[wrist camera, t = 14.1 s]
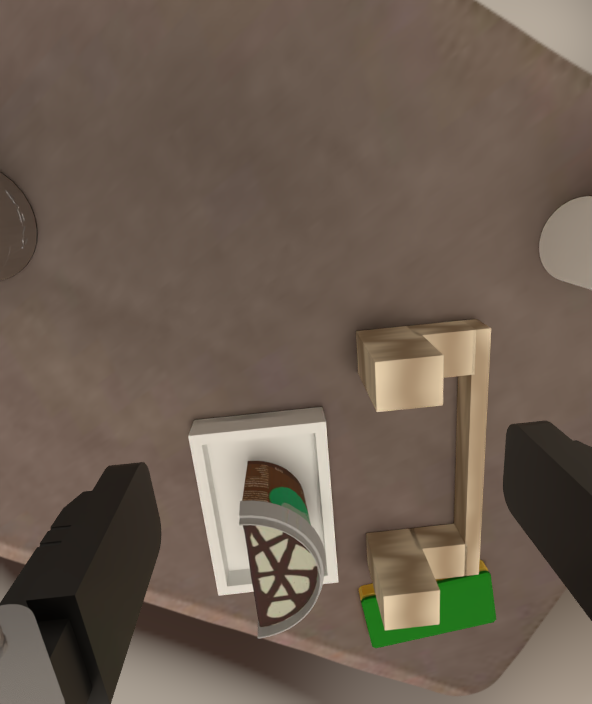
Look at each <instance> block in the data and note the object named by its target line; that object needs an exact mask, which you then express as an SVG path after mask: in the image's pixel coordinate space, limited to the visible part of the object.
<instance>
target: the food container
mask: <svg viewBox="0 0 592 704" xmlns="http://www.w3.org/2000/svg"><path fill="white" fill-rule="evenodd" d="M239 517H240V520H239V525H243V529H244V533H245V539H246V546H247V552H248V559H249V566H250V573H251V580H252V585H253V590H254V596H255V603H256V609H257V615H258V638H264V637H269V636H272V635H276V634H279V633H281V632H283V631H285V630H288V629H289V628H291V627H293V626H294V625H296V624H297V623H298V622H300V621H301V620H302V619H303V618H304V617H305V616H306V615H307V614H308V613H309V612H310V611H311V609H312V608H313V606H314V604H315V603H316V600H317V598H318V596H319V594H320V591H321V589H322V584H323V580H324V573H325V560H326V556H325V551H324V546H323V544H322V541H321V539H320V537H319V535H318V534H317V532H316V531H315V529H314V528H313V527H312V526H311V523H310V519H309V514H308V510H307V505H306V501H305V496H304V492H303V489H302V486H301V484H300V483H299V481H298V480H297V478H296V477H295V476H294V475H293V474H292V473H291V472H289V471H288V470H287V469H285V468H283V467H281V466H279V465H276V464H274V463H270V462H266V461H248V463H247V470H246V477H245V484H244V491H243V498H242V501H240V511H239Z"/></svg>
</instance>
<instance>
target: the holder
mask: <svg viewBox="0 0 592 704" xmlns="http://www.w3.org/2000/svg"><path fill="white" fill-rule="evenodd" d="M356 342H357V362H358V374H359V376H360V378H361V380H362V382H363V384H364V386H365V389H366V391H367V393H368V395H369V397H370V399H371V401H372V403H373V405H374V407H375V409H376V411H377V412H383V411H392V410H402V409H411V408H421V407H431V406H440V405H443V378H445V377H455V376H458V390H457V428H456V465H455V503H454V524H446V525H437V526H427V527H418V528H409V529H400V530H390V531H381V532H372V533H366V543H367V563H368V567H369V571H370V575H371V579H372V583H373V587H374V591H375V594H376V598H377V602H378V606H379V610H380V614H381V618H382V622H383V626H384V629H385V630H393V629H402V628H411V627H420V626H429V625H438V624H439V622H440V589H439V587H438V584H437V582H436V580H435V579H442V578H451V577H460V576H469V575H478V574H479V561H480V541H481V521H482V501H483V481H484V461H485V441H486V422H487V402H488V382H489V362H490V342H491V328H490V327H488V326H487V325H485V324H483V323H482V322H480V321H479V320H477V319H471V320H461V321H451V322H441V323H431V324H421V325H411V326H401V327H392V328H382V329H372V330H362V331H356Z"/></svg>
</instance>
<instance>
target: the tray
mask: <svg viewBox="0 0 592 704" xmlns="http://www.w3.org/2000/svg"><path fill="white" fill-rule="evenodd" d="M188 437H189V442H190V447H191V453H192V458H193V463H194V468H195V474H196V479H197V484H198V489H199V495H200V500H201V505H202V511H203V516H204V521H205V526H206V532H207V537H208V542H209V547H210V553H211V558H212V563H213V569H214V574H215V579H216V584H217V590H218V595H227V594H237V593H246V592H254V590H253V585H252V580H251V573H250V566H249V559H248V552H247V546H246V539H245V533H244V529H243V525H239V520H240V517H239V511H240V501H242V498H243V491H244V484H245V477H246V470H247V463H248V461H266V462H270V463H274V464H276V465H279V466H281V467H283V468H285V469H287V470H288V471H289V472H291V473H292V474H293V475H294V476H295V477H296V478H297V480H298V481H299V483H300V484H301V486H302V489H303V492H304V496H305V501H306V505H307V510H308V514H309V519H310V523H311V526H312V527H313V528H314V529H315V531H316V532H317V534H318V535H319V537H320V539H321V541H322V544H323V546H324V551H325V556H326V560H325V573H324V580H323V584H327V583H336V582H338V571H337V558H336V545H335V532H334V520H333V507H332V494H331V481H330V468H329V456H328V443H327V430H326V420H325V416H324V412H323V407H314V408H305V409H295V410H286V411H276V412H266V413H257V414H247V415H238V416H228V417H218V418H209V419H199V420H194V421H193V424H192V427H191V430H190V433H189V436H188Z"/></svg>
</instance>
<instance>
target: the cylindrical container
mask: <svg viewBox="0 0 592 704" xmlns="http://www.w3.org/2000/svg"><path fill="white" fill-rule="evenodd" d="M539 254H540V259H541V262H542V264H543V267H544V268H545V269H546V271H547V272H548V273H549V274H550V275H552V276H553V277H554V278H556V279H558V280H561V281H564V282H567V283H571V284H574V285H577V286H581V287H584V288H587V289H591V290H592V196H585V197H579V198H576V199H573V200H570V201H569V202H567V203H565V204H564V205H562V206H561V207H560V208H558V209H557V210H556V211H555V212H554V213H553V214H552V215H551V217H550V218H549V219H548V221H547V222H546V224H545V226H544V228H543V230H542V233H541V237H540V241H539Z"/></svg>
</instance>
